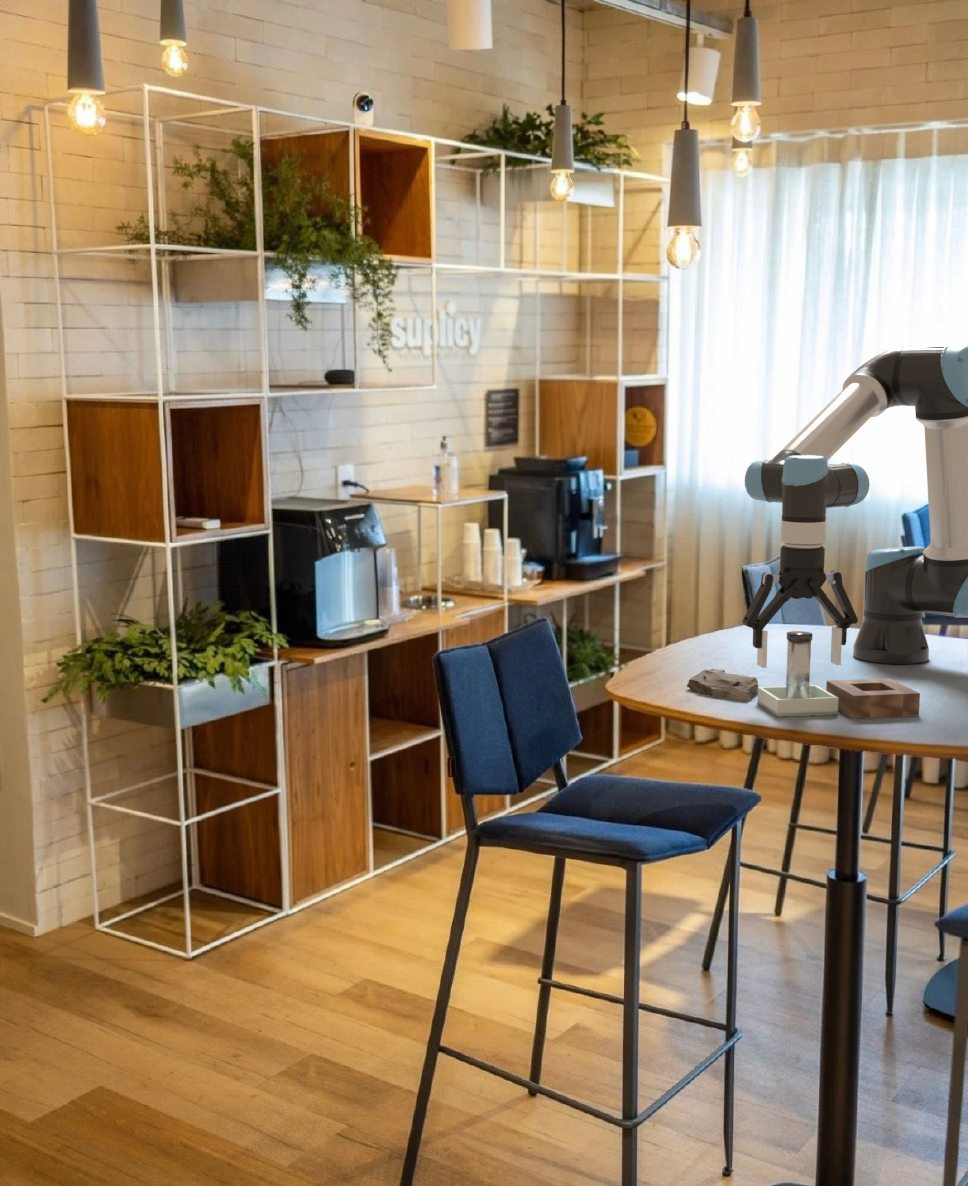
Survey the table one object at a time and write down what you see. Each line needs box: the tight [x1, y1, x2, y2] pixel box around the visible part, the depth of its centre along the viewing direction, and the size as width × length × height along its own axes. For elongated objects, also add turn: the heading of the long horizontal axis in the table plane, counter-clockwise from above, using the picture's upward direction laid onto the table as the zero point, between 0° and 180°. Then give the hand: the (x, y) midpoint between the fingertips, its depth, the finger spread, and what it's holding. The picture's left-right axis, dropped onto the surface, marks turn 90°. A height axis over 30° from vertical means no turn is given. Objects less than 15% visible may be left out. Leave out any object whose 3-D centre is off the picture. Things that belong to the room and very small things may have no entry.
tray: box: [756, 684, 839, 718], centre depth 243 cm, size 11×10×3 cm
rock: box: [686, 668, 759, 702], centre depth 255 cm, size 14×9×4 cm
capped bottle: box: [785, 630, 813, 699], centre depth 242 cm, size 4×4×13 cm
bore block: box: [825, 678, 921, 719], centre depth 243 cm, size 12×12×4 cm
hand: (798, 665), depth 242 cm, fingers open, 13 cm apart
